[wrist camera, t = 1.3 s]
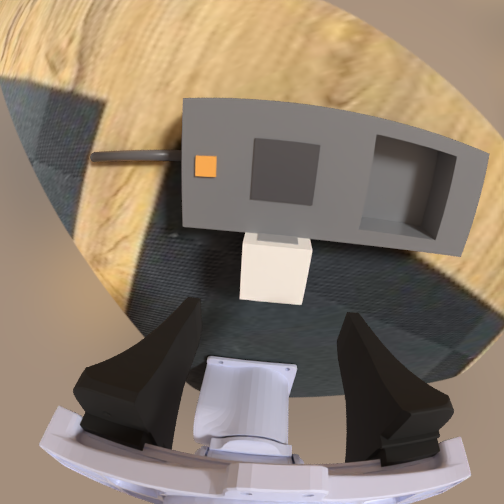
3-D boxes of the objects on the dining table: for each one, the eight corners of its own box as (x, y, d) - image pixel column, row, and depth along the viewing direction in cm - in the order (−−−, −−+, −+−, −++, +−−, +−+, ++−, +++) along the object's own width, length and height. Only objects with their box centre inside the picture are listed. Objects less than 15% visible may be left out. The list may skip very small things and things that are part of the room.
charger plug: (247, 260, 23) (239, 299, 18) (250, 211, 21) (242, 242, 16) (297, 264, 23) (301, 304, 18) (305, 217, 21) (312, 249, 16)
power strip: (98, 202, 21) (73, 219, 18) (92, 107, 18) (63, 111, 14) (440, 236, 20) (461, 258, 17) (463, 144, 16) (491, 154, 13)
